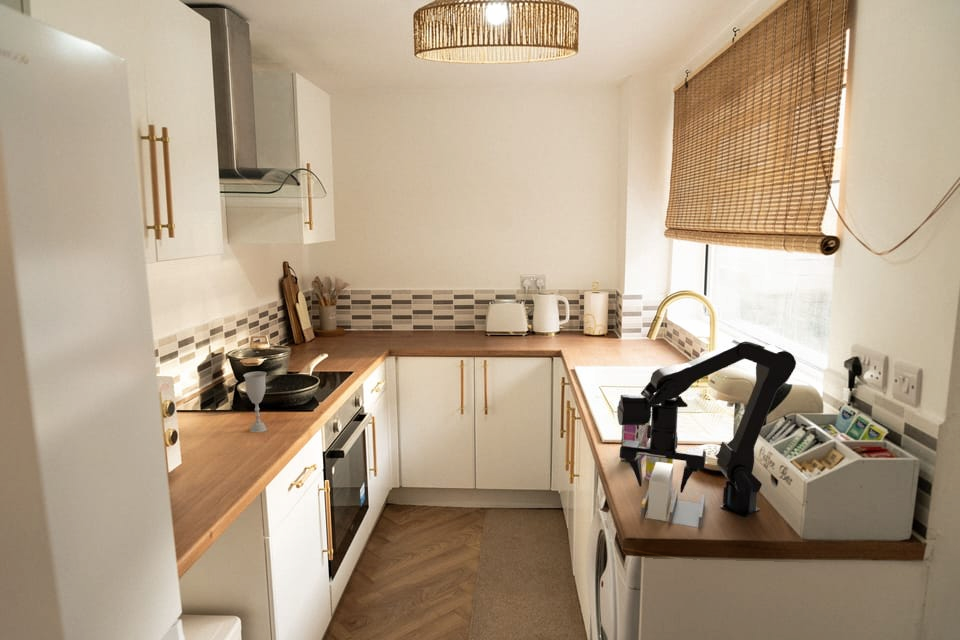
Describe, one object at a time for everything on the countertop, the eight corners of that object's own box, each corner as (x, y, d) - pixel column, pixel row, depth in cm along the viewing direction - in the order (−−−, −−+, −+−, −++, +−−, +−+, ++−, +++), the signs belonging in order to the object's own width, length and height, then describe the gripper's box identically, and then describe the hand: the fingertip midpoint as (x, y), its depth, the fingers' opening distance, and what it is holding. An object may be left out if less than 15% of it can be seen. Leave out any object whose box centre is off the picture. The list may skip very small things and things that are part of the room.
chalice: (262, 434, 210) (259, 377, 207) (242, 433, 211) (238, 376, 208) (273, 426, 217) (270, 371, 214) (253, 425, 218) (250, 371, 215)
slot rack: (704, 505, 161) (705, 491, 161) (700, 529, 150) (701, 513, 149) (648, 496, 166) (648, 483, 165) (640, 519, 154) (641, 504, 154)
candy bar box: (637, 464, 186) (639, 406, 184) (619, 460, 189) (622, 403, 186) (649, 451, 196) (652, 396, 193) (632, 448, 198) (635, 394, 196)
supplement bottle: (667, 473, 180) (669, 427, 178) (675, 484, 174) (677, 435, 171) (642, 474, 180) (644, 427, 178) (649, 484, 173) (651, 436, 171)
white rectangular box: (671, 499, 164) (673, 464, 162) (665, 521, 153) (667, 483, 151) (654, 496, 165) (656, 461, 163) (647, 518, 154) (649, 480, 152)
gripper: (709, 418, 159) (705, 481, 162) (628, 410, 166) (626, 470, 169) (706, 433, 149) (702, 500, 152) (620, 423, 156) (618, 488, 159)
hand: (660, 489), depth 158 cm, fingers open, 9 cm apart
